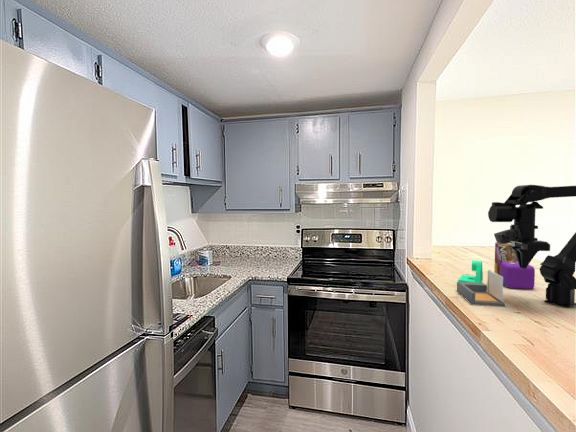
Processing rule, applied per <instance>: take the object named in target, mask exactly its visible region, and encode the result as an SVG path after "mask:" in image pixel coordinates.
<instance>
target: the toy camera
mask: <svg viewBox="0 0 576 432" xmlns="http://www.w3.org/2000/svg"><path fill="white" fill-rule="evenodd" d="M535 269H536V268H535V267H534V266H532V265H531V264H529V265H528V266H527V268H521V267H520V266H519V263H518V262H502V263H501V268H500V276H502V277H503V286H505V287H506V288H510V289H516V290H517V289H518V290H519V289H520V290H533V289H534V288H535V277H536V273H535V272H536V270H535Z"/></svg>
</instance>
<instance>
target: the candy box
mask: <svg viewBox="0 0 576 432" xmlns="http://www.w3.org/2000/svg"><path fill="white" fill-rule="evenodd" d="M509 246H511V243H507V244H500V243H497V241H496V242H495V244H494V269H493V270H494V271H493V272H495V273H496V274H498V275H500V268H501V263H502V262H518V260H517V257H516V254H515V251H514V250H513V249H511V248H510V247H509Z"/></svg>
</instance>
